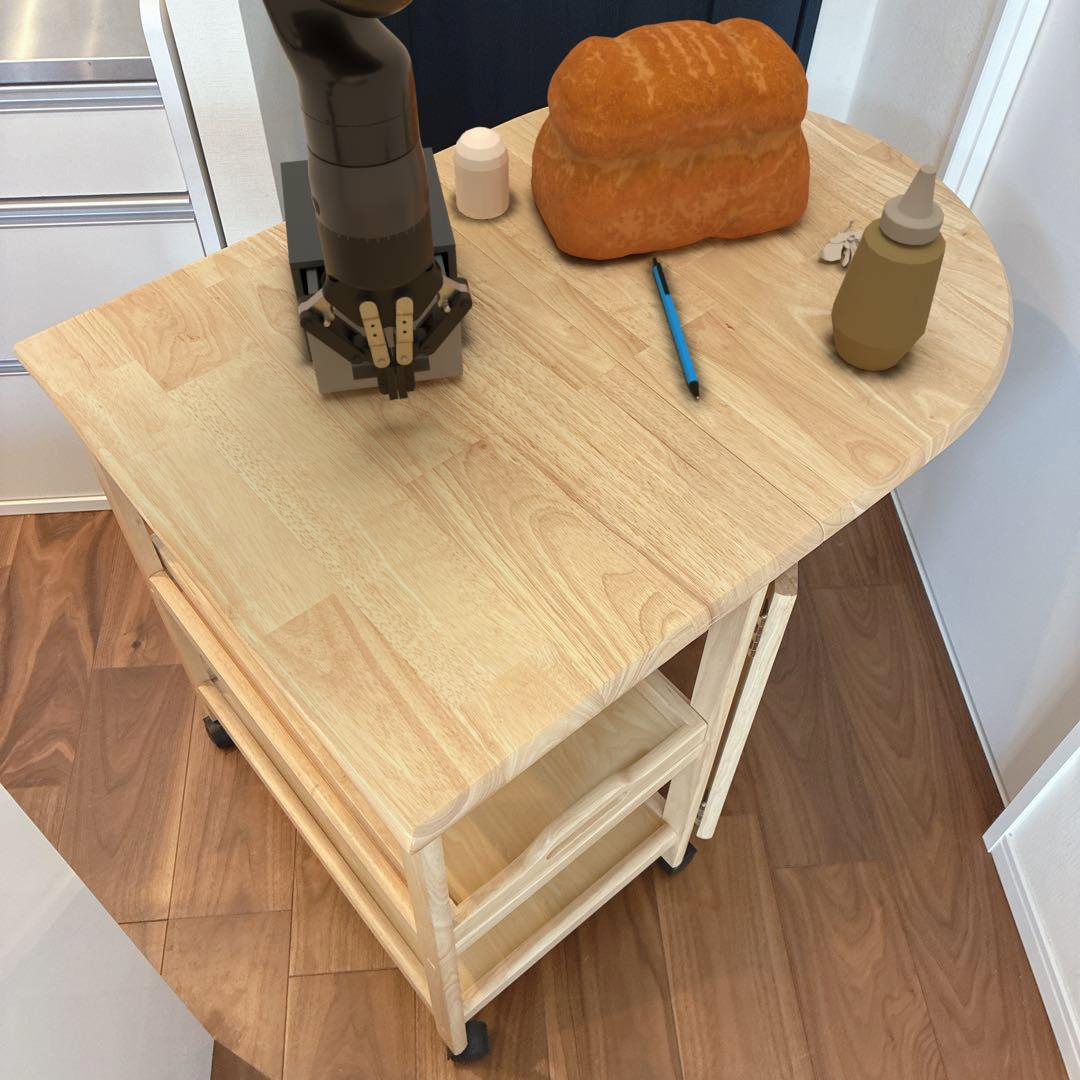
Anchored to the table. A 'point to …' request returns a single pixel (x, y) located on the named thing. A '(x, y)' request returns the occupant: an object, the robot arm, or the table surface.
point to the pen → (676, 328)
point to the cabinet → (306, 235)
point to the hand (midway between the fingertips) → (397, 392)
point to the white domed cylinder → (481, 174)
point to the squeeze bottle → (891, 279)
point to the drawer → (347, 376)
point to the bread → (672, 139)
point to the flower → (836, 245)
